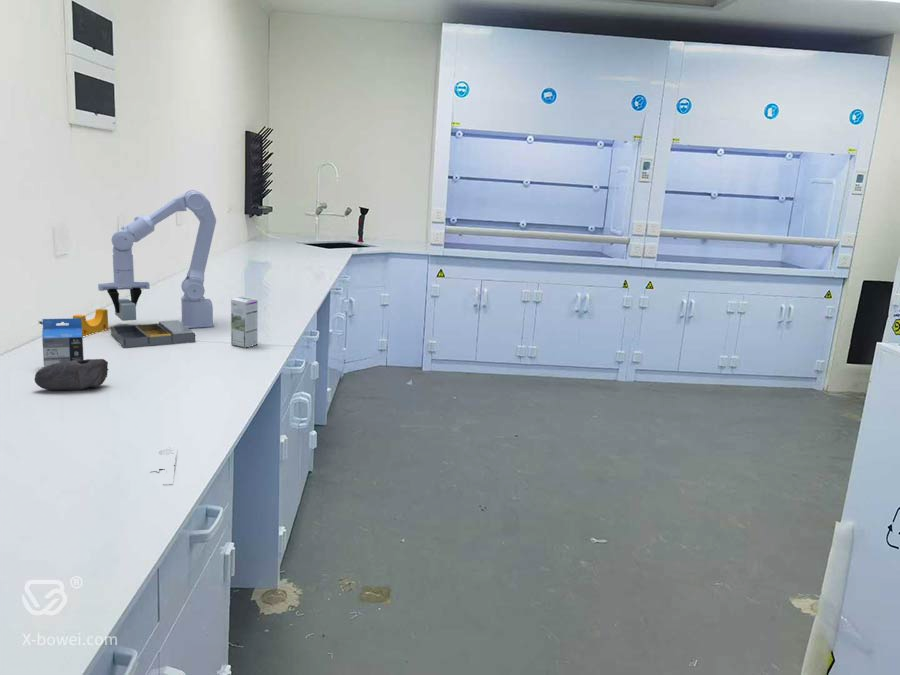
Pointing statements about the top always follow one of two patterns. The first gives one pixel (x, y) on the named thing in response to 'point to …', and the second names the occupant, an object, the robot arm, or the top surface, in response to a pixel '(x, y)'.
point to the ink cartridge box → (62, 341)
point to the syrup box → (244, 321)
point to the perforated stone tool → (73, 375)
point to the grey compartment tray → (152, 334)
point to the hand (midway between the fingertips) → (125, 311)
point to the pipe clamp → (94, 322)
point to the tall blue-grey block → (126, 310)
